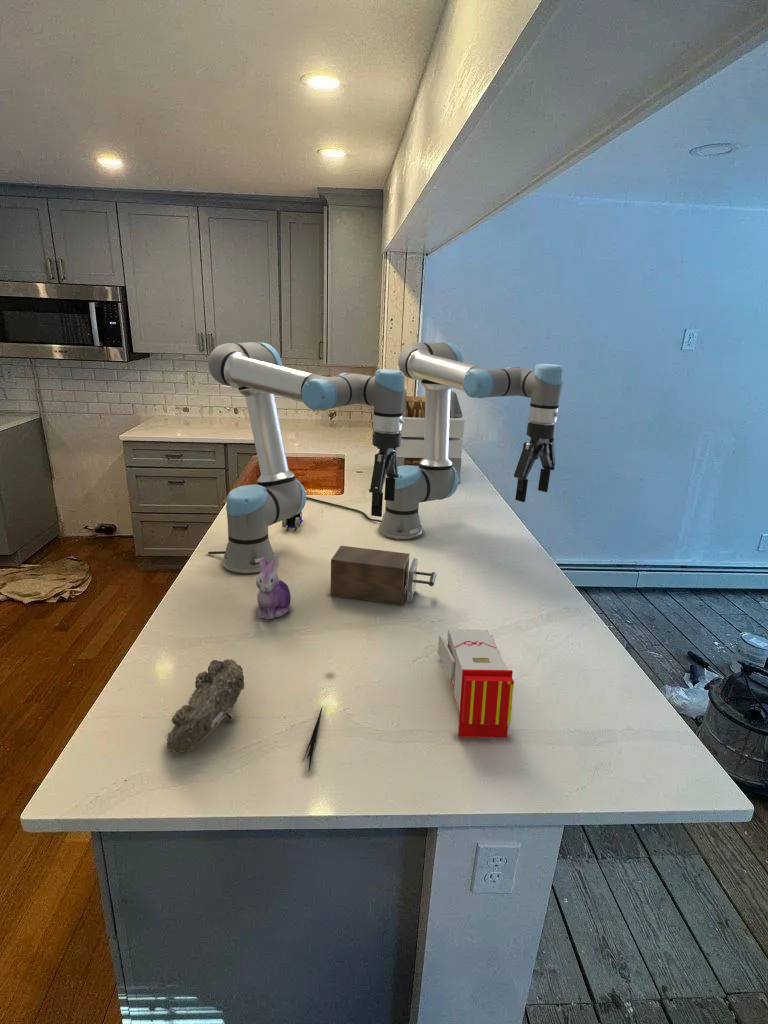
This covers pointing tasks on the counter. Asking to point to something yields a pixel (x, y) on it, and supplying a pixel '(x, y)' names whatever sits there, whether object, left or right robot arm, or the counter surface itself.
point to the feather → (313, 740)
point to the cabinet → (369, 574)
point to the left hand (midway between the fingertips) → (383, 507)
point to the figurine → (271, 591)
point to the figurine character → (293, 522)
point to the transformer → (414, 432)
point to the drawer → (413, 581)
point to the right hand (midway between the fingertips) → (531, 495)
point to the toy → (478, 682)
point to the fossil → (206, 705)
